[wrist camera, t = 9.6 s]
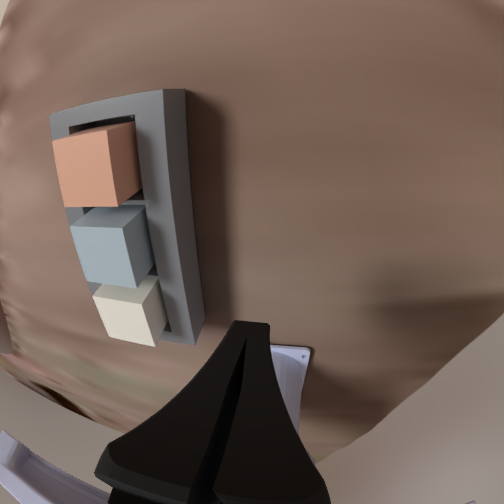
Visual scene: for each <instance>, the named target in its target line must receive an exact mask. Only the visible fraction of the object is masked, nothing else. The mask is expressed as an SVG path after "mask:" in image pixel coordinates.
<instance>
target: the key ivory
mask: <svg viewBox="0 0 504 504" xmlns="http://www.w3.org/2000/svg"><path fill="white" fill-rule="evenodd" d="M93 299H94V301H95V304H96V306H97V309H98V311H99V314H100V316H101V318H102V321H103V323H104V325H105V328H106V330H107V332H108V335H109V337H113V338H117V339H121V340H126V341H130V342H135V343H139V344H144V345H149V346H154V347H155V346H156V344H157V342H158V340H159V338H160V336H161V334H162V332H163V330H164V328H165V326H166V324H167V322H168V320H169V319H168V315H167V311H166V307H165V303H164V299H163V295H162V290H161V286H160V281H159V280H158V279H149V278H144V279H143V281H142V282H141V284H140V285H139V287H138V288H137V289H136V288H129V287H122V286H115V285H109V284H102V285H101V286H100V287H99V288H98V290H97V291H96V292H95V293H94V295H93Z"/></svg>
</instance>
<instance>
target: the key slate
mask: <svg viewBox="0 0 504 504" xmlns="http://www.w3.org/2000/svg"><path fill="white" fill-rule="evenodd" d="M70 229H71V233H72V236H73V240H74V243H75V246H76V250H77V253H78V256H79V259H80V262H81V265H82V268H83V271H84V274H85V277H86V280H87V281H89V282H96V283H102V284H109V285H115V286H122V287H129V288H136V289H137V288H138V287H139V285H140V284H141V282H142V281H143V279H144V278H145V277H146V275H147V274H148V272H149V271H150V270H151V268H152V267H153V265H154V264H155V263H156V262H155V257H154V252H153V247H152V242H151V237H150V231H149V225H148V219H147V213H146V207H145V205H119V206H118V207H94V208H93V209H92V210H90V211H89V212H88V213H86V214H85V215H84V216H82V217H81V218H80V219H78V220H77V221H76V222H75V223H73V224H72V225H71V226H70Z"/></svg>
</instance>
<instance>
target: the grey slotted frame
mask: <svg viewBox="0 0 504 504" xmlns="http://www.w3.org/2000/svg"><path fill="white" fill-rule="evenodd" d="M49 120H50V129H51V137H52V141H53V140H56V139H59V138H62V137H65V136H67V135H70V134H73V133H76V132H79V131H83V130H86V129H89V128H94V127H100V126H106V125H112V124H118V123H125V122H132V121H135V123H136V135H137V145H138V154H139V163H140V171H141V179H142V187H143V188H142V189H140V190H139V191H138V192H136V193H135V194H134V195H132V196H131V197H130V198H128V199H127V200H126V201H124V202H123V203H122V204H121V205H145V207H146V213H147V219H148V225H149V231H150V237H151V242H152V247H153V252H154V257H155V262H156V263H155V264H154V265H153V267H152V268H151V270H150V271H149V272H148V274H147V275H146V277H145V278H149V279H158V280H159V281H160V286H161V290H162V295H163V299H164V303H165V307H166V311H167V315H168V319H169V320H168V322H167V324H166V326H165V328H164V330H163V332H162V334H161V336H160V338H159V339H160V340H165V341H171V342H177V343H183V344H189V345H196V342H197V339H198V336H199V334H200V331H201V328H202V326H203V323H204V320H205V318H206V316H205V309H204V302H203V295H202V287H201V280H200V272H199V263H198V255H197V246H196V237H195V227H194V217H193V206H192V195H191V183H190V171H189V156H188V141H187V123H186V100H185V89H162V90H155V91H148V92H142V93H136V94H130V95H125V96H120V97H115V98H110V99H105V100H101V101H96V102H92V103H88V104H84V105H80V106H77V107H73V108H69V109H66V110H62V111H59V112H56V113H52V114H49ZM52 144H53V143H52ZM53 151H54V150H53ZM54 157H55V156H54ZM55 163H56V162H55ZM56 169H57V168H56ZM57 174H58V173H57ZM58 179H59V178H58ZM59 184H60V183H59ZM60 189H61V188H60ZM62 198H63V197H62ZM63 202H64V201H63ZM93 208H94V207H65V210H66V214H67V218H68V222H69V226H71V225H72V224H73V223H75V222H76V221H77V220H78V219H80V218H81V217H82V216H84V215H85V214H86V213H88V212H89V211H90V210H92V209H93ZM70 230H71V229H70ZM72 237H73V236H72ZM75 247H76V246H75ZM79 260H80V259H79ZM80 263H81V262H80ZM81 266H82V265H81ZM82 269H83V268H82ZM83 272H84V271H83ZM87 283H88V286H89V288H90V291H91V294H92V296H93V295H94V293H95V292H96V291H97V290H98V288H99V287H100V286H101V285H102V283H96V282H89V281H87ZM94 302H95V301H94ZM96 307H97V306H96ZM98 312H99V311H98ZM101 319H102V318H101ZM103 324H104V323H103ZM104 326H105V325H104Z"/></svg>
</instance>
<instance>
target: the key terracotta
mask: <svg viewBox="0 0 504 504" xmlns="http://www.w3.org/2000/svg"><path fill="white" fill-rule="evenodd" d="M52 143H53V150H54V156H55V162H56V168H57V173H58V178H59V183H60V188H61V193H62V197H63V201H64V206H65V207H118V206H119V205H121V204H122V203H123V202H124V201H126V200H127V199H128V198H130V197H131V196H132V195H134V194H135V193H136V192H138V191H139V190H140V189H142V188H143V187H142V179H141V171H140V163H139V154H138V145H137V135H136V123H135V121H132V122H125V123H118V124H112V125H106V126H100V127H94V128H89V129H86V130H83V131H79V132H76V133H73V134H70V135H67V136H65V137H62V138H59V139H56V140H53V141H52Z"/></svg>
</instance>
